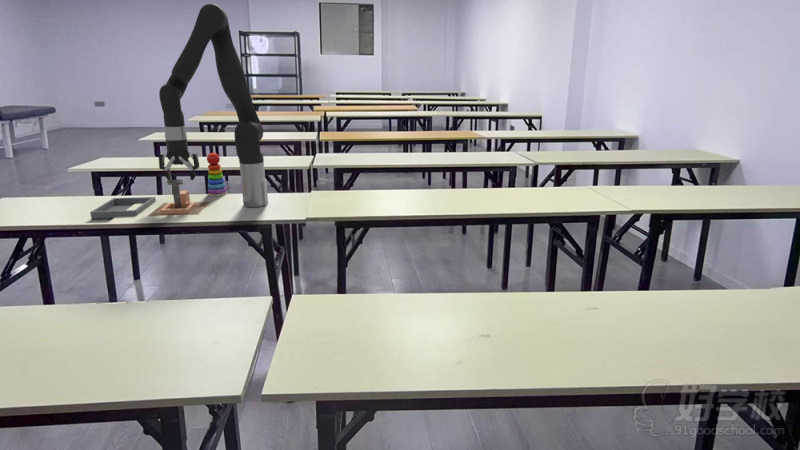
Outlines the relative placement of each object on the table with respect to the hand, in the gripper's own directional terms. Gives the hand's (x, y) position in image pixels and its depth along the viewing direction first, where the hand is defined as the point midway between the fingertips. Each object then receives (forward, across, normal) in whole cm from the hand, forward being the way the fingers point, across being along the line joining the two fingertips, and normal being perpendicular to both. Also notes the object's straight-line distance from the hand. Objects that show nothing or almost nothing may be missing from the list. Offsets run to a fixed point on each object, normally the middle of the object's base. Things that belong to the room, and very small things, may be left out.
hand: (181, 179), depth 201 cm
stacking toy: (+11, -9, -16) cm, 21 cm away
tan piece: (+10, 0, +6) cm, 11 cm away
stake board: (+11, 0, +6) cm, 13 cm away
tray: (+11, +20, +4) cm, 24 cm away
